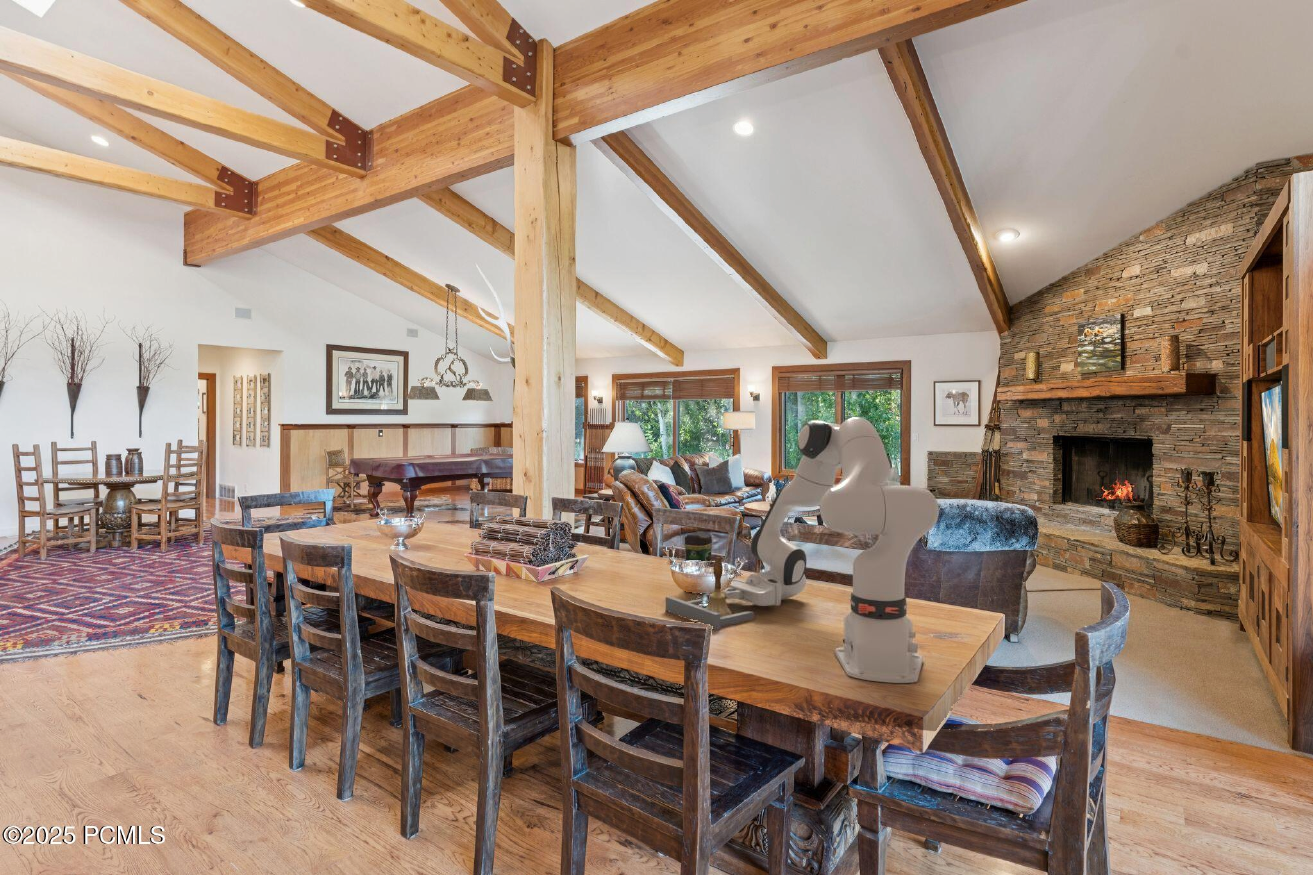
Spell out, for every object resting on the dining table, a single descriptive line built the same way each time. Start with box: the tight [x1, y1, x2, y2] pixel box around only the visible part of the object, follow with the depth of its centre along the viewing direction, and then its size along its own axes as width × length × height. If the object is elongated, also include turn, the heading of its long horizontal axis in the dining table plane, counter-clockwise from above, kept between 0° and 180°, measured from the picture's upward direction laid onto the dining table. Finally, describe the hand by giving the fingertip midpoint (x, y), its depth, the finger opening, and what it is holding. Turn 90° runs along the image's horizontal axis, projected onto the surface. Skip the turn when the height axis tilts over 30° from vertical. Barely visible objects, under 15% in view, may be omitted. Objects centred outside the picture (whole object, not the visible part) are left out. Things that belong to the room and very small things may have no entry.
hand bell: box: [705, 556, 733, 617], centre depth 185 cm, size 8×8×16 cm
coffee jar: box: [684, 530, 713, 563], centre depth 214 cm, size 10×8×19 cm
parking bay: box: [665, 595, 755, 631], centre depth 184 cm, size 15×22×4 cm, turn 35°
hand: (723, 595), depth 186 cm, fingers closed, pressing on hand bell
